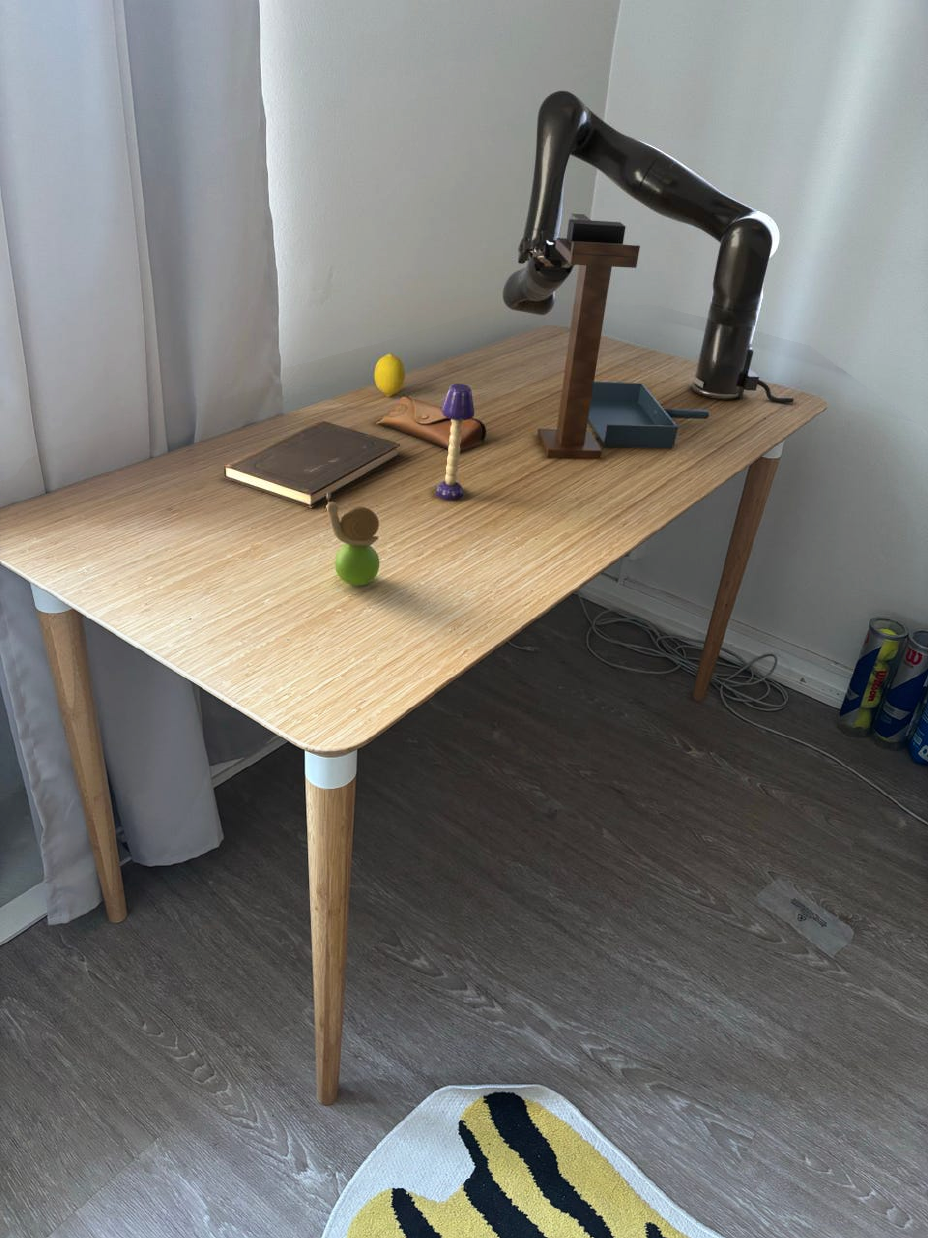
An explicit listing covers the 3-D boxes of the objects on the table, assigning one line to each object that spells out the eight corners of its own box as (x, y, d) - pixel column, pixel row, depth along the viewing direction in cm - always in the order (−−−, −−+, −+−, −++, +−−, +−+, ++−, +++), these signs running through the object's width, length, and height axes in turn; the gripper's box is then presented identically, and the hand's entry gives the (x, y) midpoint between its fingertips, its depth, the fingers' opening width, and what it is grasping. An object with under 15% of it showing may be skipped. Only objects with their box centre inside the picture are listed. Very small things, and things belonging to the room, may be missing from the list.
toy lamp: (471, 492, 139) (480, 384, 130) (461, 504, 135) (470, 394, 126) (441, 485, 140) (448, 378, 131) (430, 498, 136) (437, 388, 127)
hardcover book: (399, 457, 148) (400, 443, 146) (311, 508, 130) (311, 493, 129) (318, 432, 154) (318, 419, 152) (223, 478, 136) (222, 464, 135)
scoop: (604, 446, 158) (607, 424, 156) (575, 400, 176) (578, 380, 174) (727, 449, 161) (732, 428, 159) (687, 404, 179) (691, 384, 177)
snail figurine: (327, 570, 117) (326, 483, 110) (378, 571, 117) (381, 485, 111) (325, 593, 112) (325, 504, 105) (379, 594, 113) (381, 505, 106)
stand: (588, 434, 162) (620, 230, 144) (603, 460, 153) (640, 245, 134) (532, 433, 160) (557, 226, 142) (544, 459, 151) (573, 241, 133)
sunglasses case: (372, 422, 158) (385, 384, 157) (393, 432, 164) (407, 396, 163) (457, 452, 150) (472, 413, 149) (477, 462, 156) (491, 424, 155)
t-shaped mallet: (551, 226, 150) (554, 205, 148) (599, 229, 151) (602, 208, 150) (570, 245, 138) (573, 223, 137) (622, 248, 140) (625, 226, 138)
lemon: (406, 392, 172) (407, 350, 168) (401, 403, 168) (403, 359, 163) (376, 389, 173) (377, 347, 168) (371, 400, 168) (372, 356, 164)
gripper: (509, 245, 169) (528, 212, 153) (585, 249, 171) (611, 216, 155) (509, 287, 169) (528, 258, 153) (585, 290, 171) (611, 262, 155)
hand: (570, 237), depth 154 cm, fingers open, 8 cm apart
